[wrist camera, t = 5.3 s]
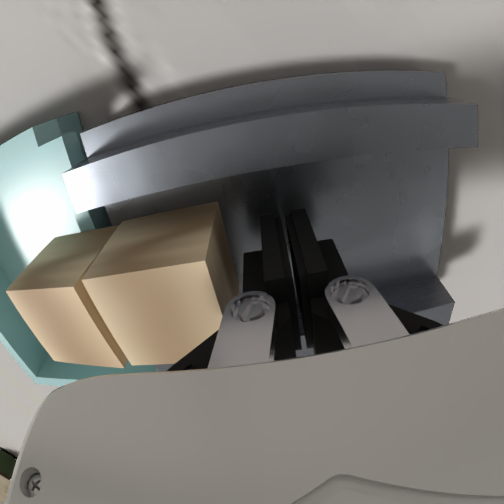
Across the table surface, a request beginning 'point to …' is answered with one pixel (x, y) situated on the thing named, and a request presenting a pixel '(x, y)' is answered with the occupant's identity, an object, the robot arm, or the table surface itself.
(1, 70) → the table surface
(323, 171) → the slot rail
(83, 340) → the chip
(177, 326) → the chip
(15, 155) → the tray
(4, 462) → the character mug
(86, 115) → the table surface
